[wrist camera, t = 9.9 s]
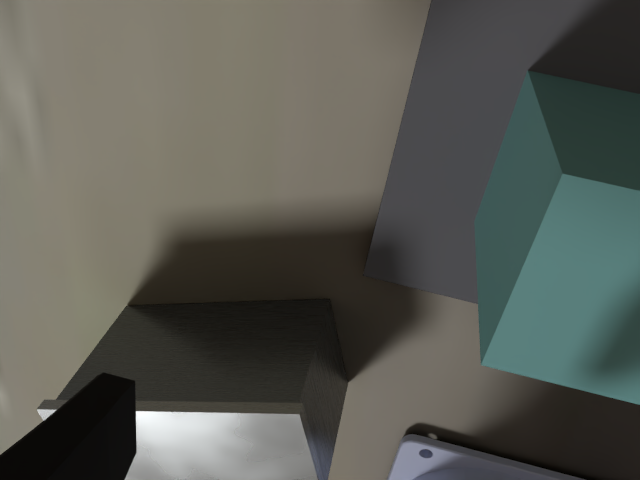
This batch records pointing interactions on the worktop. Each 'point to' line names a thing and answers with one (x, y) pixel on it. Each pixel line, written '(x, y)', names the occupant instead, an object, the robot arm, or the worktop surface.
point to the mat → (481, 121)
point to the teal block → (564, 240)
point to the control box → (226, 388)
